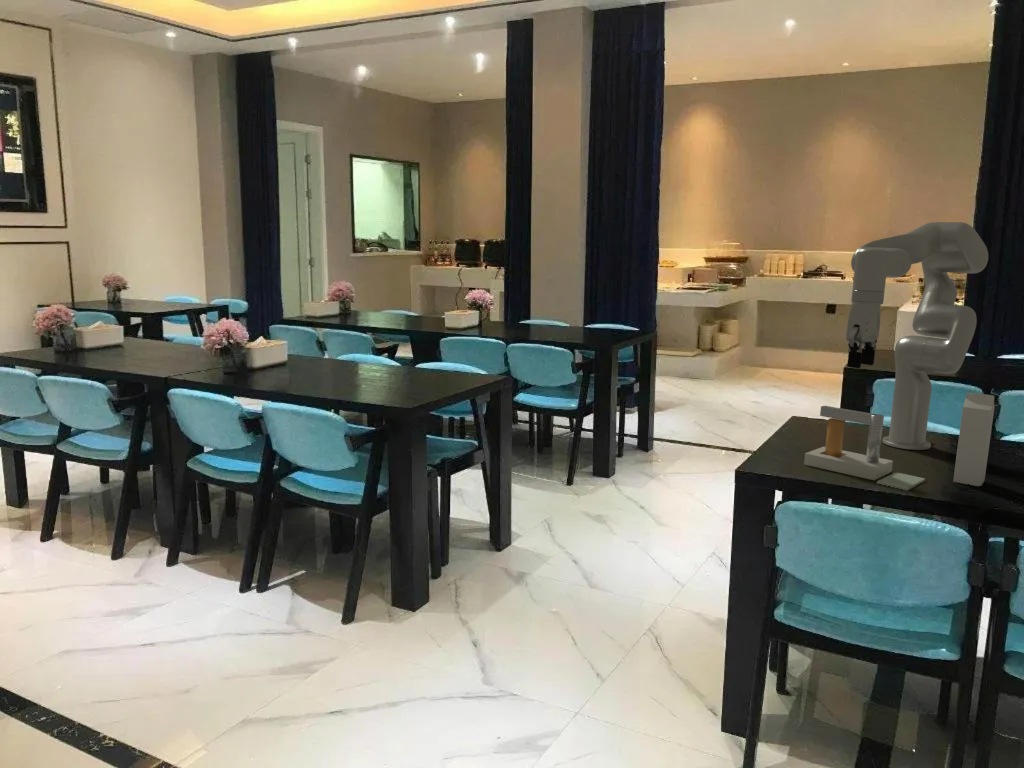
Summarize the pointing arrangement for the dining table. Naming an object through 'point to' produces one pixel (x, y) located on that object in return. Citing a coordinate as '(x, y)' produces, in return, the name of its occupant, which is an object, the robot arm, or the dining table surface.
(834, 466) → the gray rectangular base
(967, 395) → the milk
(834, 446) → the tan rectangular bar
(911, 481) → the mat
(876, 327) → the robot arm
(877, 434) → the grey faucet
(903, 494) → the dining table surface
